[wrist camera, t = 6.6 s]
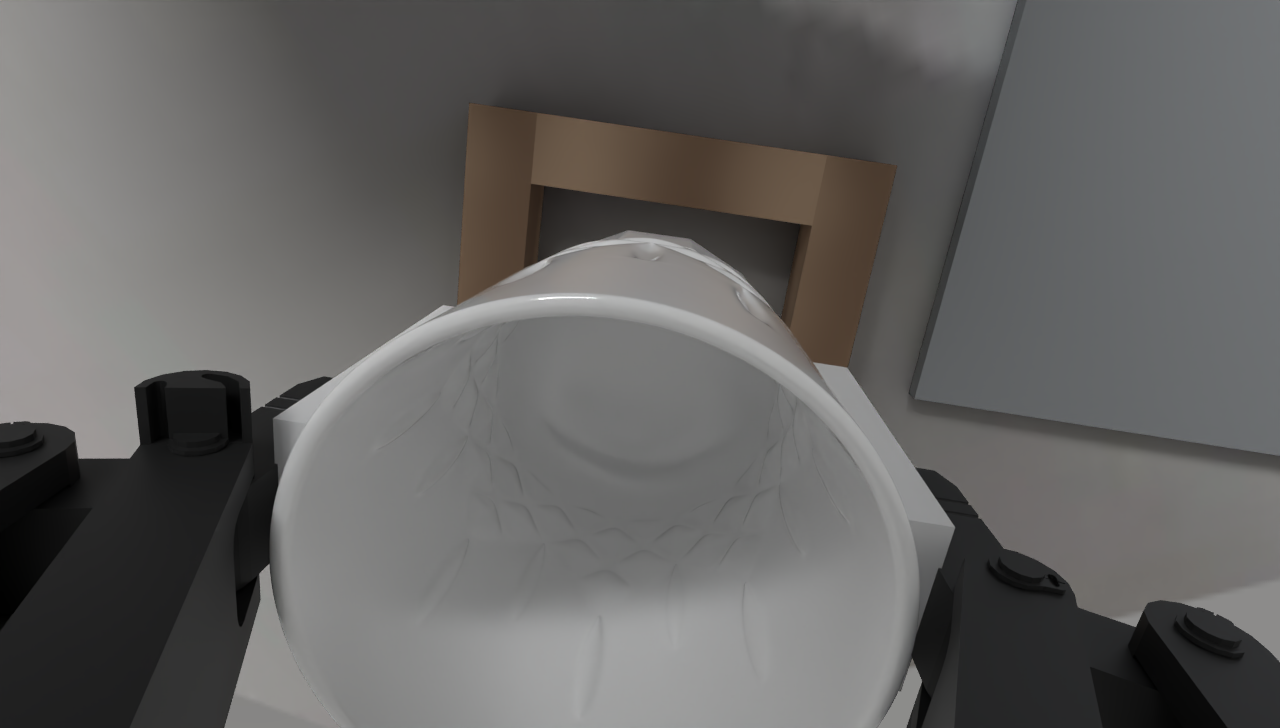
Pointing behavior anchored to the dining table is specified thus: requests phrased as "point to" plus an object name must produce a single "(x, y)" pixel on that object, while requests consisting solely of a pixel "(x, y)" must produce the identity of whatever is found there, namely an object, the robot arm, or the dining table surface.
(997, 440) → the dining table surface
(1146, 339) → the grey mat
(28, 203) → the dining table surface
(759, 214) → the walnut collar
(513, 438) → the white cup
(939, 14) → the dining table surface
